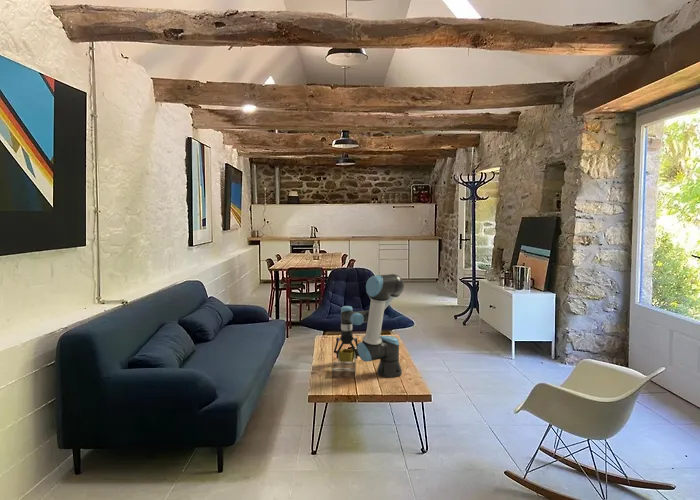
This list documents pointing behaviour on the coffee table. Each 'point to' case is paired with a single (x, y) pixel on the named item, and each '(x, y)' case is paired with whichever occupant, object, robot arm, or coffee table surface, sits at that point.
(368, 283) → the robot arm
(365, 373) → the coffee table surface
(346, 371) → the display stand
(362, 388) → the coffee table surface
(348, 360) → the flower pot
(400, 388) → the coffee table surface
